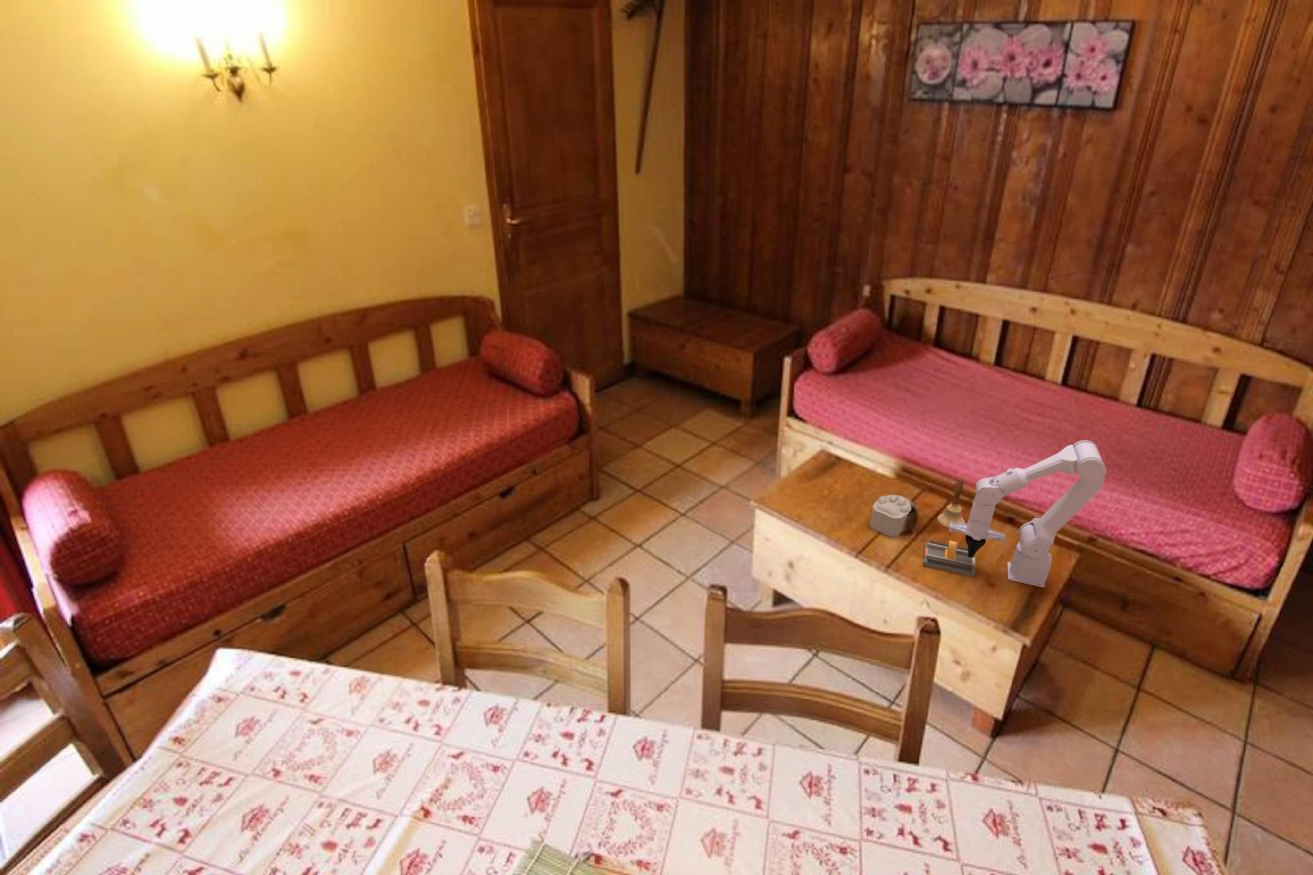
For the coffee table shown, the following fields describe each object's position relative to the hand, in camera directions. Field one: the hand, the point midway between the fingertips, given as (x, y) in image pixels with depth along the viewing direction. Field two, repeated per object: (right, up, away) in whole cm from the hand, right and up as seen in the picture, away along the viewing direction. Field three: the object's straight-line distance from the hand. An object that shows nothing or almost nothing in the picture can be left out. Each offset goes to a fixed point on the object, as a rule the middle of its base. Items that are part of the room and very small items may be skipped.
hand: (970, 555), depth 210 cm
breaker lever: (-5, -1, +3) cm, 6 cm away
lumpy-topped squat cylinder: (-17, +7, +20) cm, 27 cm away
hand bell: (+3, +7, +21) cm, 22 cm away
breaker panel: (-5, -2, +4) cm, 6 cm away
